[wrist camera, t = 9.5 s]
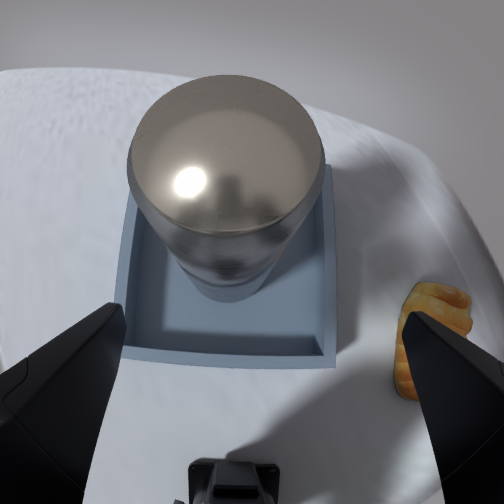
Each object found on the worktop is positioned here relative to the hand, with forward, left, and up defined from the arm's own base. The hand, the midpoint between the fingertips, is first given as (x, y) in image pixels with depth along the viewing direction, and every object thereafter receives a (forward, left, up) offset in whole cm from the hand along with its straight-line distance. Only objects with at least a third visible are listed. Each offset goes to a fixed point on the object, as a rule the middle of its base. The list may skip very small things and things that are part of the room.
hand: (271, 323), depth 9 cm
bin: (+5, +2, -13) cm, 14 cm away
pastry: (-1, -15, -13) cm, 20 cm away
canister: (+4, +2, -12) cm, 13 cm away
